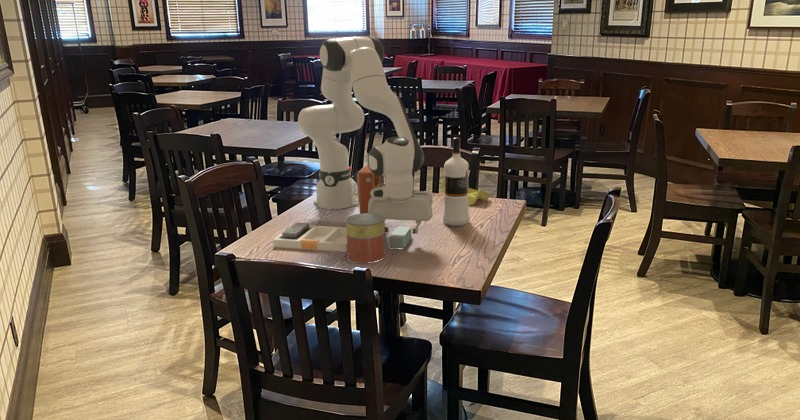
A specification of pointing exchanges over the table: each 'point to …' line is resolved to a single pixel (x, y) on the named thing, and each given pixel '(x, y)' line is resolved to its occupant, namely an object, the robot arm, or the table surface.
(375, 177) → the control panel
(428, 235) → the table surface
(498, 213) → the table surface
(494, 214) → the table surface
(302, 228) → the dark grey long block
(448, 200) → the vodka
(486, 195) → the plastic component
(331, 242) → the cream compartment tray
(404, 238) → the panel
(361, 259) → the canned food
